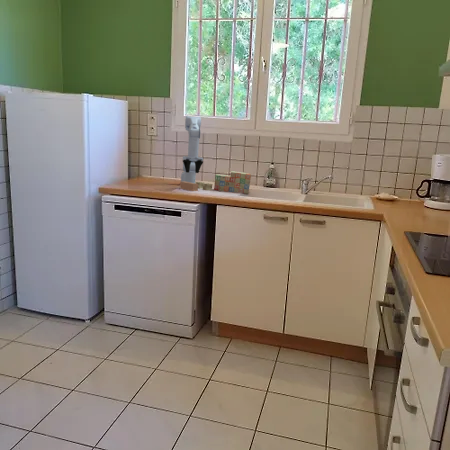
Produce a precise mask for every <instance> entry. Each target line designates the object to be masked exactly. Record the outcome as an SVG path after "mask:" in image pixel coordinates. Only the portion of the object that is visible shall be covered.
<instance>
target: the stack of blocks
mask: <svg viewBox="0 0 450 450" xmlns="http://www.w3.org/2000/svg"><path fill="white" fill-rule="evenodd" d="M214 177H215V178H214V179H215V180H214V187H213V191H219V192H230V193H239V194H245V195H249V193H250V185H251V178H252V173H247V172H242V171H234V170H233V171H232V170H231V171H230V175H227V174H226V175H225V174H215V176H214Z"/></svg>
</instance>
